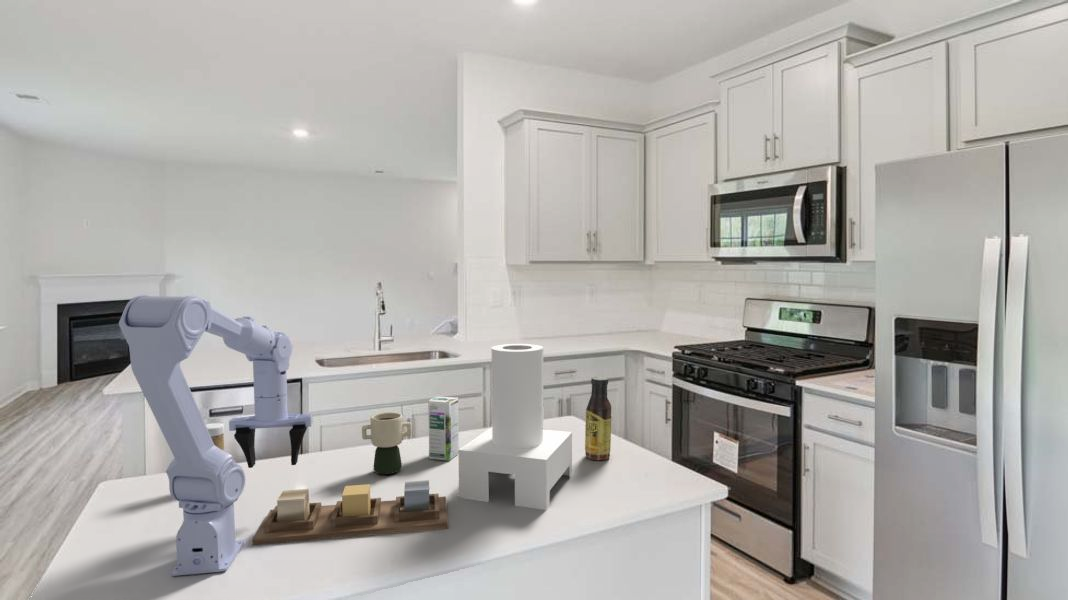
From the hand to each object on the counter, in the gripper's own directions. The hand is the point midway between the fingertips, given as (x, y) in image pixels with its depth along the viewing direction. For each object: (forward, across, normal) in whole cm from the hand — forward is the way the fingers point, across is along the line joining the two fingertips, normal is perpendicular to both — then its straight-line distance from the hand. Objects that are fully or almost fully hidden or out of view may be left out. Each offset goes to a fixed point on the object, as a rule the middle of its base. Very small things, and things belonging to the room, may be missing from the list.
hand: (273, 464), depth 112 cm
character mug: (+10, -20, -18) cm, 29 cm away
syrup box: (+10, -33, -26) cm, 43 cm away
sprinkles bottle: (+10, +16, -16) cm, 25 cm away
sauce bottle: (+10, -70, -18) cm, 73 cm away
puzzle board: (+9, -16, +7) cm, 20 cm away
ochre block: (+8, -16, +7) cm, 19 cm away
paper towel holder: (+10, -48, -4) cm, 49 cm away
